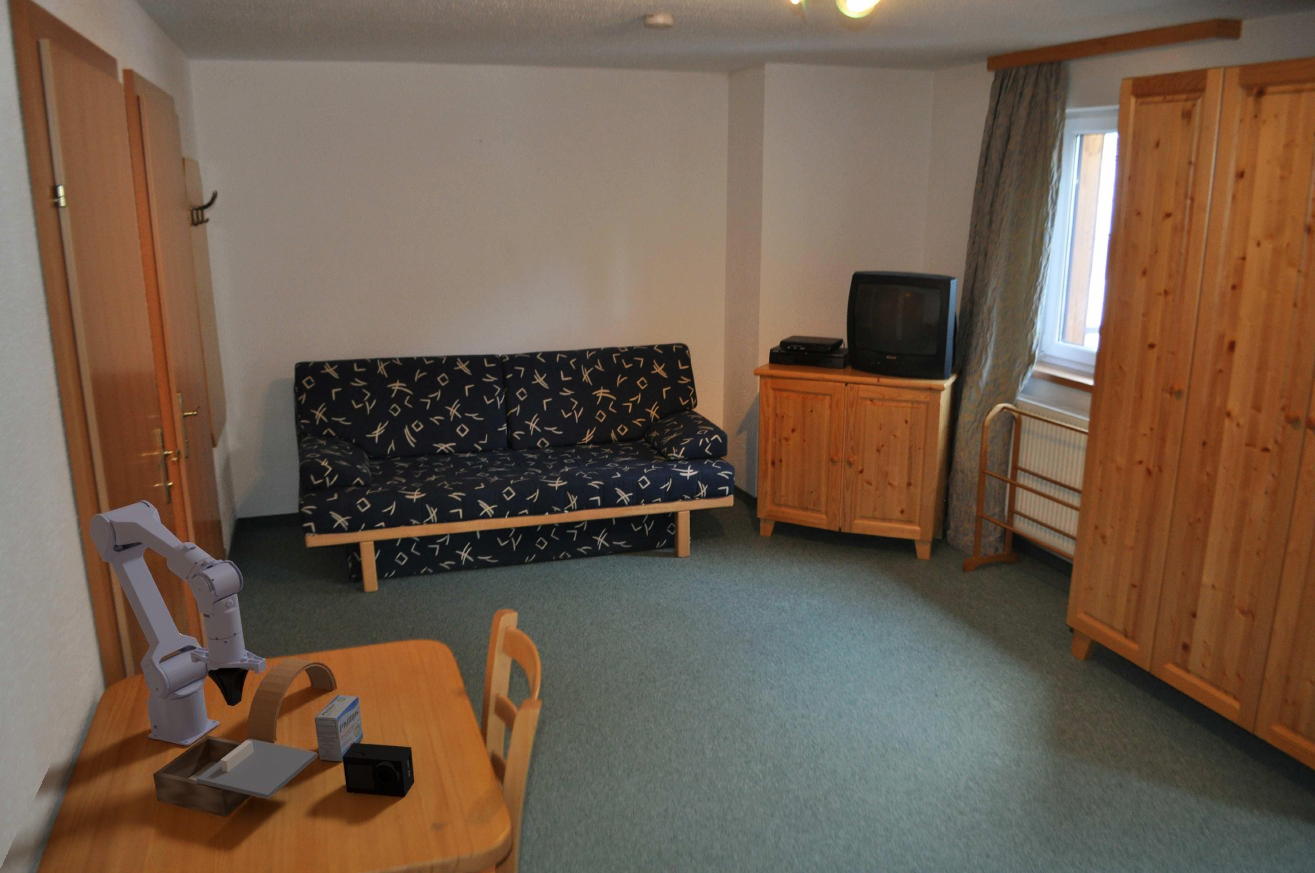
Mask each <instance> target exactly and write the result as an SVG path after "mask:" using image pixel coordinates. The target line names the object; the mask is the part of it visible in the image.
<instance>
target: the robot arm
mask: <svg viewBox="0 0 1315 873" xmlns="http://www.w3.org/2000/svg"><path fill="white" fill-rule="evenodd" d="M89 535H90V539H91V540H92V542H93V544H94V546H95V549H96V551H97V553H98V554H99V556H100V558H101V560H102V562H103V563H104V562H105V563H110V565H111V567H112V569H113V571H114V574H115V575H116V577H117V580H118V581H119V584H120V585H121V588H122V590H123V592H124V594H125V596H126V598H127V600H128V603H129V604H130V607H131V609H132V611H133V613H134V615H135V617H136V619H137V621H138V624H139V626H140V628H141V630H142V632H143V634H144V637H145V639H146V640H147V643H148V644H149V648H148V649H147V651H146V652H145V654H144V656H143V658H142V659H141V661H140V667H141V670H142V672H143V676H144V683H145V685H146V687H147V689H148V691H149V694H148V698H147V705H146V706H147V712H148V719H149V723H150V729H151V732H150V733H149V734H148V735H147V736H148V738H149V739H153V740H158V741H163V742H167V743H172V744H177V745H181V746H186V747H189V746H191V745H193V744H194V743H196V741H198V740H199V739H201V738H203V736H205V735H207V734H208V733H209V732H211V731H212V730H213V729H215V728H216V727H217V726H219V725H220V721H219V720H216V719H215V720H214V719H210V718H208V713H207V704H206V700H205V699H206V698H205V693H204V685H205V684H206V683H207V680H206V678H207V677H208V678H210V679H211V680H212V681H213V682H214V683H215V685H216V686H217V687H218V689H219V691H220V692H221V695H222V697H223V699H224V701H225V703H226V705H227V706H230V707H234V706H236V705H238V704H239V703H241V701H242V700H243V699H242V698H243V692H244V686H245V682H246V678H247V676H248V674H249V671H253V672H254V674H258V675H259V674H261V673H263V672H264V671H266V670H267V669H268V665H267V659H266V658H264V657H260V656H258V655H257V654H254V653H253V652H251V651H250V650H249V651H248V650H247V649H245V648H246V647H245V640H244V634H243V633H244V632H243V627H242V626H243V625H242V620H241V619H242V618H241V612H240V604H239V599H238V598H239V597H238V593H239V592H240V591H242V589H243V586H244V578H243V574H242V572H241V570H240V569H239V567H238V566H237V565H236V564H235V563H234V562H233V561H232V560H228V559H226V560H222V559H218V560H217V559H215V558H214V557H212V555H211V554H209V553H207V552H206V551H205V550H203V549H202V548H201V547H199V546H197V545H196V544H195V543H194V542H192V541H191V542H190V541H189V542H188V541H186V542H182V541H181V540H180V539H179V538H178V537H177V536H175V535H174V533H173V532H171V531H170V530H169V529H168V528H167V527H166V526H165V525H164V524H163V523H162V522H161V518H160V514H159V511H158V509H157V508H156V506H154V505H153V504H152V503H151V502H149V501H147V500H145V499H142V500H140V501H137V502H136V503H132V504H129V505H126V506H123V507H118V508H116V509H112V510H109V511H106V512H101V513H97V514H94V515H93V516H92V518H91V520H90V523H89ZM147 548H149V549H151V550H152V551H154V552H155V553H157V554H159V555H160V556H162V557H163V558H165V559H166V566H167V568H168V570H170V571H171V572H172V573H174V574H175V575H176V576H177V577H179V579H181V580H183V581H184V583H187V584H188V585H189V586H190V591H191V593H192V596H193V597H194V599H195V601H196V604H197V609H198V610H199V612H200V613H201V614H202V617H203V625H204V632H205V639H206V645H207V647H202V646H201V645H200V644H199V642H198V640H197V638H195V637H194V636H190V635H186V634H181V633H179V630H178V628H177V626H176V624H175V622H174V620H173V618H172V616H171V613H170V611H169V609H168V607H167V606H166V603H165V601H164V599H163V597H162V595H161V592H160V591H159V588H158V586H157V584H156V583H155V582H156V581H154V578H153V576H152V573H151V572H150V570H149V567H148V565H147V563H146V561H145V558H144V553H145V550H147ZM175 652H178V653H176V654H174V653H175ZM171 654H174V655H171ZM170 655H171V656H170ZM167 656H170V657H168V658H165V657H167ZM163 658H165V659H163ZM162 659H163V660H162Z"/></svg>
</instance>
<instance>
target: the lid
mask: <svg viewBox="0 0 1315 873" xmlns="http://www.w3.org/2000/svg"><path fill="white" fill-rule="evenodd" d="M317 758H318V752H315V751H312V750H306V749H302V748H296V747H292V746H286V745H283V744H278V743H273V742H267V741H261V740H255V739H248V738H247V739H245V741H244V742H242V744H241V745H239V746H238V747H237V748H235V749H234V750H233V751H231V752H230V753H229V754H227V755H226V756H225V757H224V758H222V759H221V760H220V761H219V762H217V763H216V764H215V765H214V766H212V767H211V768H210V769H208V770H207V771H206V772H204V773H203V774H202V775H200V776H199V777H198V778H196V779H197V783H200V784H204V785H208V786H213V787H217V788H222V789H226V790H230V791H235V792H239V793H243V794H248V795H252V796H253V797H256V798H262V799H265V800H270V799H271V797H273V796H274V795H275V794H277V792H279V791H280V790H281V789H282V788H283V787H285V785H287V784H288V783H289V782H290V781H292V779H294V778H295V777H297V775H298V774H299V773H300V772H302V771H303V770H304V769H305V768H306V767H308V766H309V765H310V764H311V763H312V762H313V761H315V759H317ZM252 796H251V797H252Z"/></svg>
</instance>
